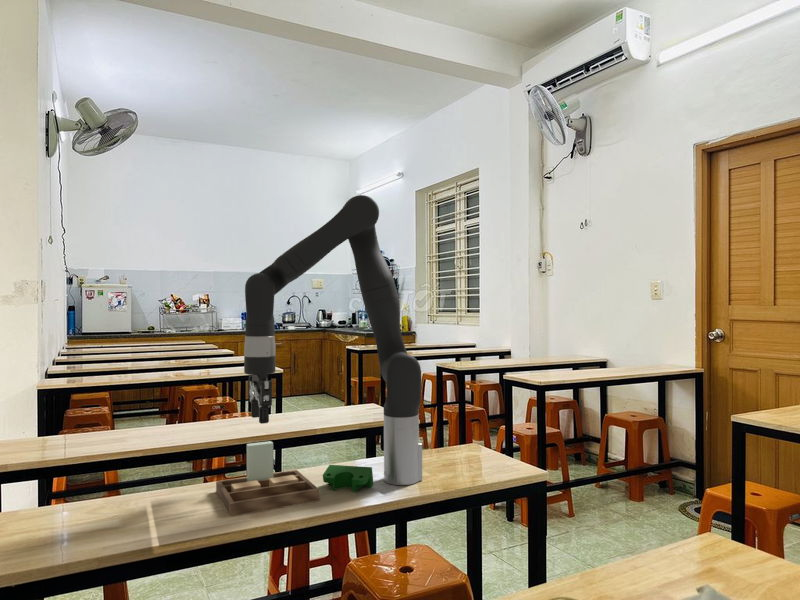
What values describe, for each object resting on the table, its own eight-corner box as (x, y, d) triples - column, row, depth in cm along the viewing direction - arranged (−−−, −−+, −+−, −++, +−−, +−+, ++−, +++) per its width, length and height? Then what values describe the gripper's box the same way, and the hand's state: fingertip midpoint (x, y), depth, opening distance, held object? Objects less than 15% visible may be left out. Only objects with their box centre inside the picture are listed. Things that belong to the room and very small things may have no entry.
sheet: (271, 485, 140) (270, 441, 140) (273, 487, 138) (273, 443, 138) (246, 488, 137) (246, 443, 137) (248, 491, 135) (248, 446, 135)
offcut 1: (256, 492, 134) (256, 480, 134) (260, 497, 130) (260, 484, 130) (231, 496, 131) (231, 484, 131) (234, 502, 128) (234, 488, 128)
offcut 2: (293, 487, 138) (293, 474, 138) (298, 491, 134) (298, 479, 134) (269, 490, 135) (269, 478, 135) (273, 495, 132) (273, 482, 132)
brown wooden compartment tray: (296, 483, 144) (296, 469, 144) (319, 504, 128) (319, 489, 128) (216, 495, 135) (216, 481, 135) (230, 520, 119) (229, 504, 119)
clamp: (332, 511, 136) (315, 479, 135) (340, 497, 142) (323, 466, 141) (373, 496, 133) (356, 464, 132) (380, 483, 138) (363, 452, 137)
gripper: (282, 355, 133) (282, 423, 133) (267, 352, 146) (267, 414, 146) (250, 357, 130) (250, 427, 129) (238, 353, 142) (238, 416, 142)
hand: (259, 420), depth 137 cm, fingers open, 8 cm apart
